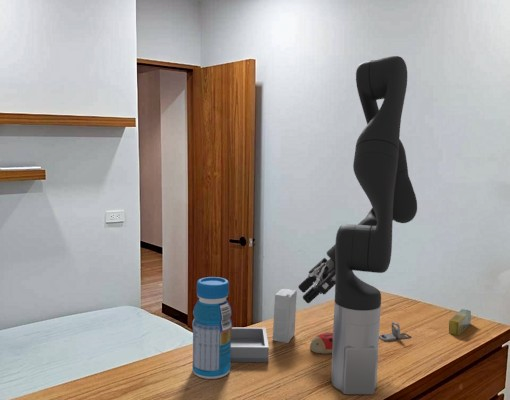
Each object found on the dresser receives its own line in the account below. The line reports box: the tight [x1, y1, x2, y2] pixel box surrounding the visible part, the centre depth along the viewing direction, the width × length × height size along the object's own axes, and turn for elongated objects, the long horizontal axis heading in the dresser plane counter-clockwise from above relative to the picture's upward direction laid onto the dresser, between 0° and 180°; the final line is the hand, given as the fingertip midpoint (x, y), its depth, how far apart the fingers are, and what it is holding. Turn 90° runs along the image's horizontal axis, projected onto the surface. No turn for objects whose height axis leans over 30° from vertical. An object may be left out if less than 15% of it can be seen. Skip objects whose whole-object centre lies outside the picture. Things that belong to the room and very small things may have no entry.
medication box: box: [448, 308, 472, 337], centre depth 135 cm, size 12×3×4 cm, turn 142°
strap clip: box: [379, 321, 412, 342], centre depth 127 cm, size 8×3×4 cm, turn 111°
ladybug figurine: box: [309, 332, 333, 355], centre depth 119 cm, size 7×10×4 cm
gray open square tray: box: [230, 326, 270, 363], centre depth 116 cm, size 12×12×4 cm
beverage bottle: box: [191, 276, 233, 380], centre depth 104 cm, size 8×8×20 cm
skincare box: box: [272, 288, 298, 344], centre depth 124 cm, size 6×4×12 cm
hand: (302, 295), depth 124 cm, fingers open, 8 cm apart
